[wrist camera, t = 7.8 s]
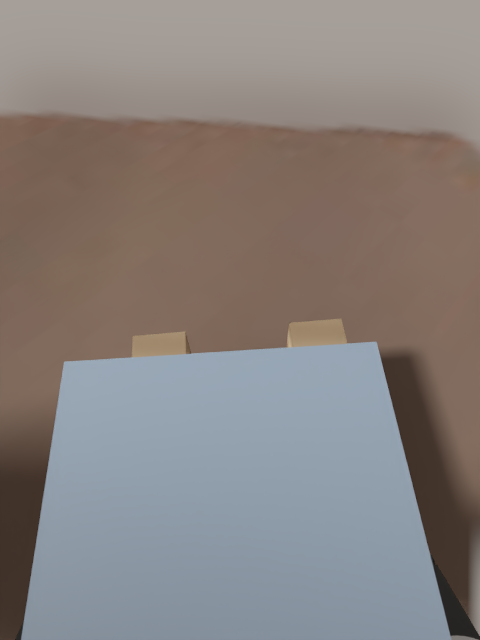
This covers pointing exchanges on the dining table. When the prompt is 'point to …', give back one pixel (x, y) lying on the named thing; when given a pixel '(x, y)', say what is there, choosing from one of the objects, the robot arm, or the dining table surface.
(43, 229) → the dining table surface
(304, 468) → the rectangular block
